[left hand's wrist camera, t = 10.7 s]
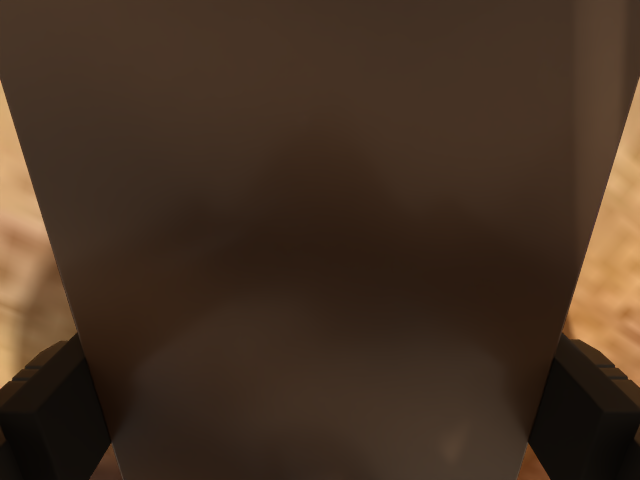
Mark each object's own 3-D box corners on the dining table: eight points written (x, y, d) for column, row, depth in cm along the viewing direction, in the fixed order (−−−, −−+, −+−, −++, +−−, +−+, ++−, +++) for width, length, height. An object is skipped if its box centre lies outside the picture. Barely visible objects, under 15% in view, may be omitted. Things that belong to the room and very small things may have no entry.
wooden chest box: (140, -161, 11) (-232, -659, 4) (498, -161, 11) (867, -657, 4) (210, 340, 18) (133, 523, 11) (429, 340, 18) (505, 523, 11)
